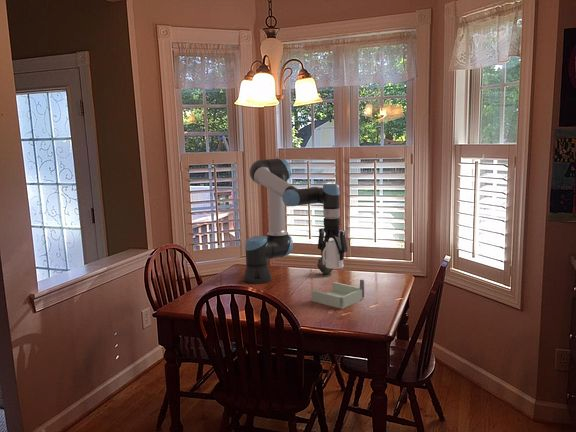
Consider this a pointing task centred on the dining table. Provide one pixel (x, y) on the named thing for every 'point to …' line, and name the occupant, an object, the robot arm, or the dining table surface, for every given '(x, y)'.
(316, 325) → the dining table surface
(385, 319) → the dining table surface
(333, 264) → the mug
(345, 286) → the tray
